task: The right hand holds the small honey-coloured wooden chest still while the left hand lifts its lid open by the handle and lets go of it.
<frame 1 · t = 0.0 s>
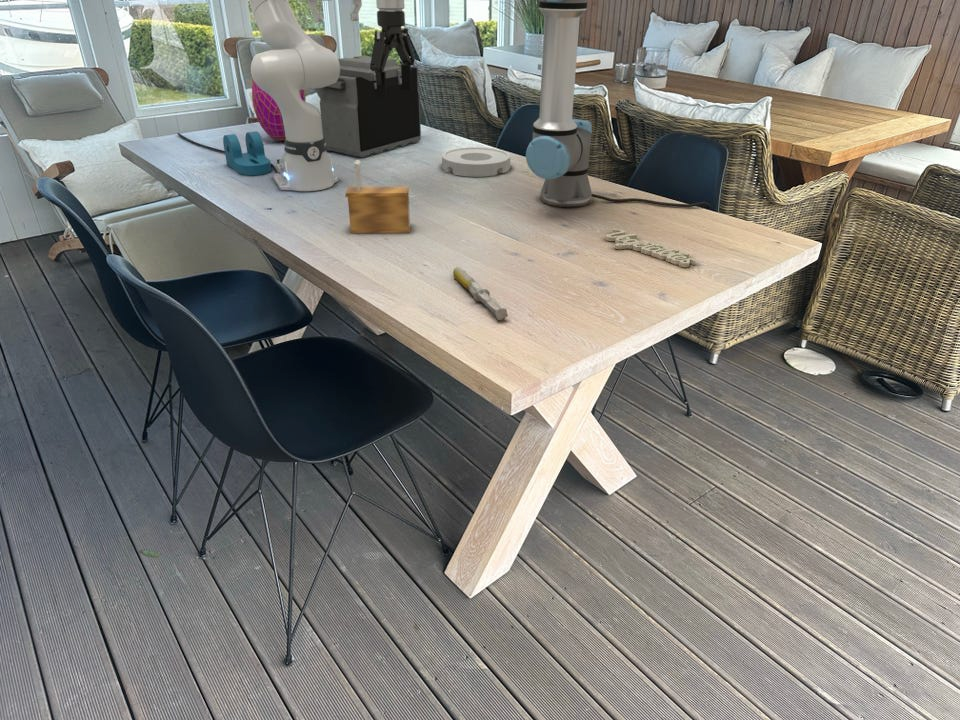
left hand: (336, 21, 168), 48 cm above the table, tool pointing down, fingers open, 8 cm apart
right hand: (394, 93, 197), 28 cm above the table, tool pointing down, fingers open, 13 cm apart
ashtray: (475, 167, 233), on the table
decorative egg: (284, 140, 265), on the table
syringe: (478, 297, 145), on the table
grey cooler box: (371, 146, 258), on the table
decorative sign: (645, 250, 169), on the table
lid: (376, 177, 173), point 14 cm above the table, hinge at 0.0°
camera mount: (251, 168, 229), on the table
chest: (380, 229, 180), on the table
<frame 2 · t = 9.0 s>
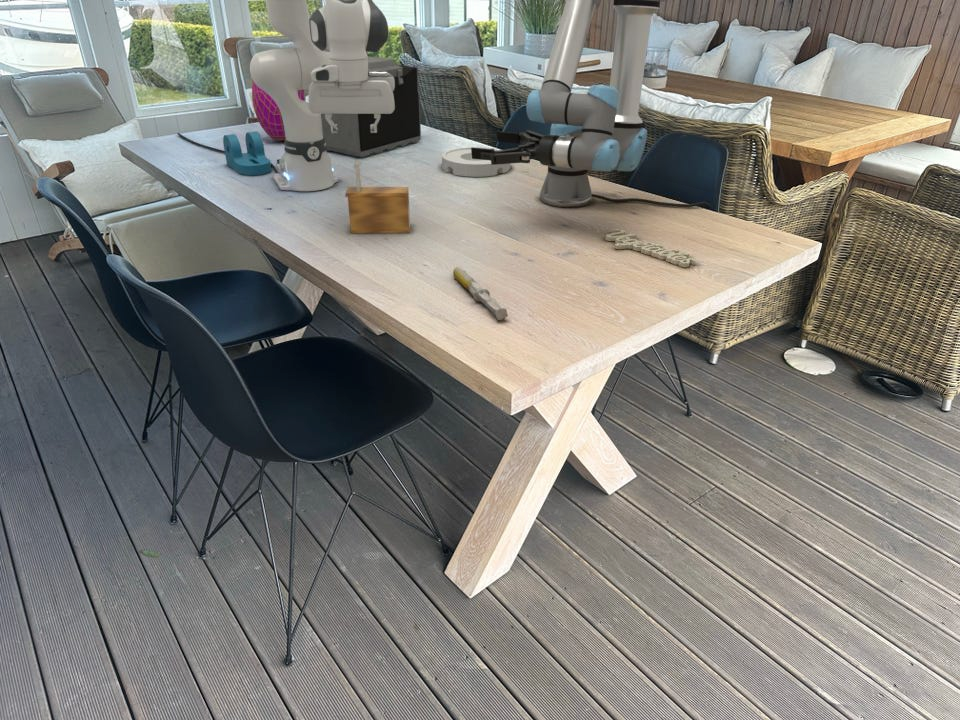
left hand: (354, 132, 167), 25 cm above the table, tool pointing down, fingers open, 8 cm apart
right hand: (485, 144, 183), 19 cm above the table, tool horizontal, fingers open, 13 cm apart
nothing on the table moved.
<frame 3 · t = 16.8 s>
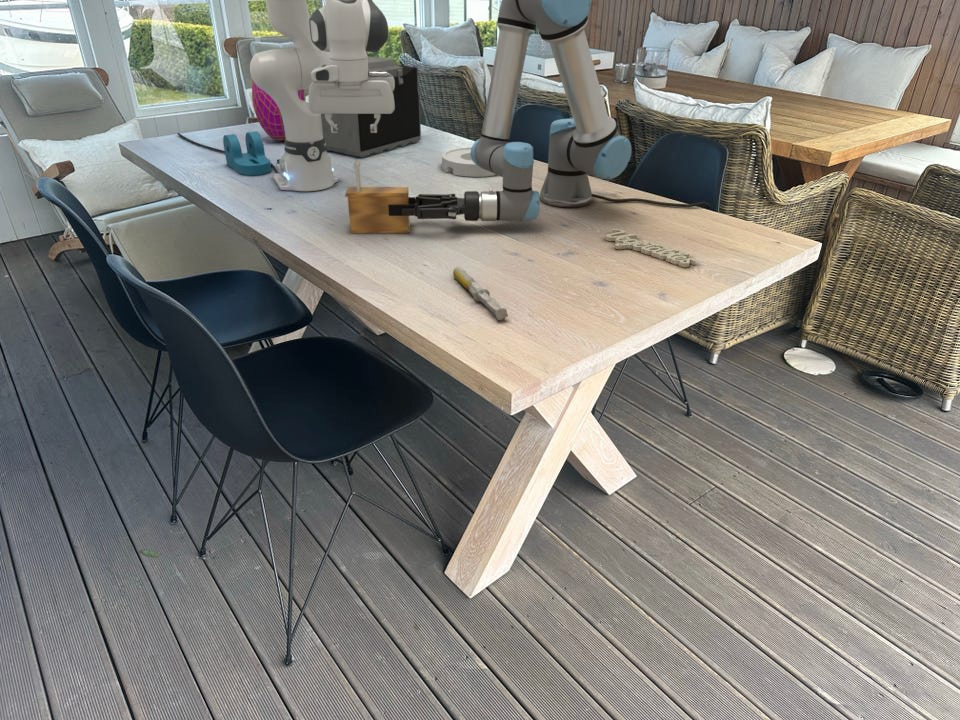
left hand: (354, 132, 167), 25 cm above the table, tool pointing down, fingers open, 8 cm apart
right hand: (389, 206, 177), 6 cm above the table, tool horizontal, fingers closed on chest, 5 cm apart
chest: (380, 229, 180), on the table, touching right hand
everything else where it was.
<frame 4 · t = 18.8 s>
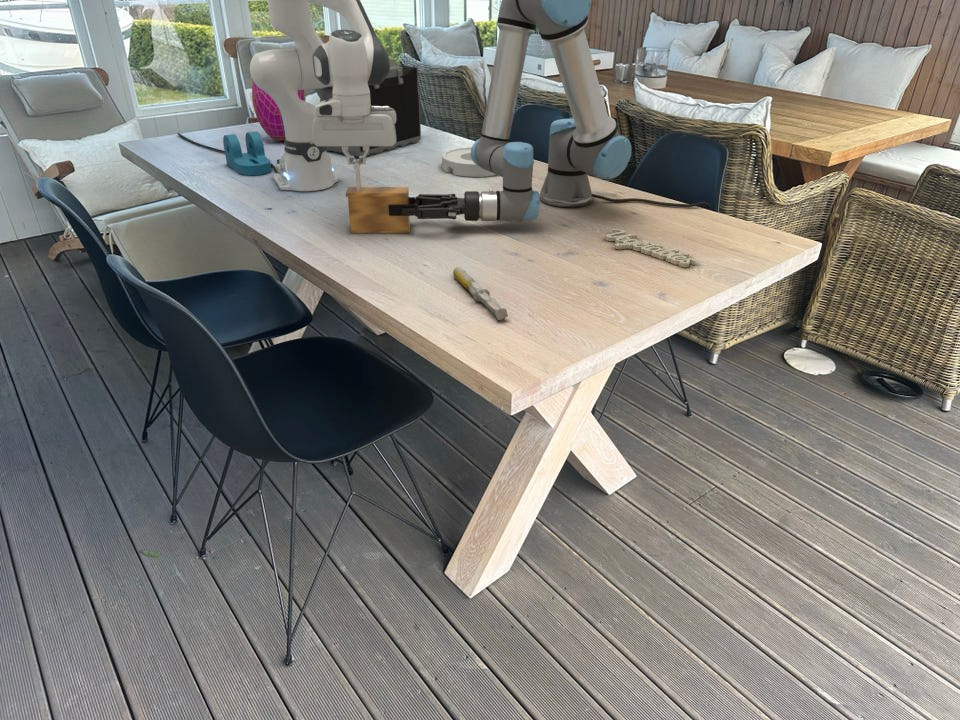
left hand: (356, 163, 171), 17 cm above the table, tool pointing down, fingers closed on lid
right hand: (389, 206, 177), 6 cm above the table, tool horizontal, fingers closed on chest, 5 cm apart
lid: (376, 177, 173), point 14 cm above the table, hinge at -0.1°, touching left hand
chest: (380, 229, 180), on the table, touching right hand
everything else where it was.
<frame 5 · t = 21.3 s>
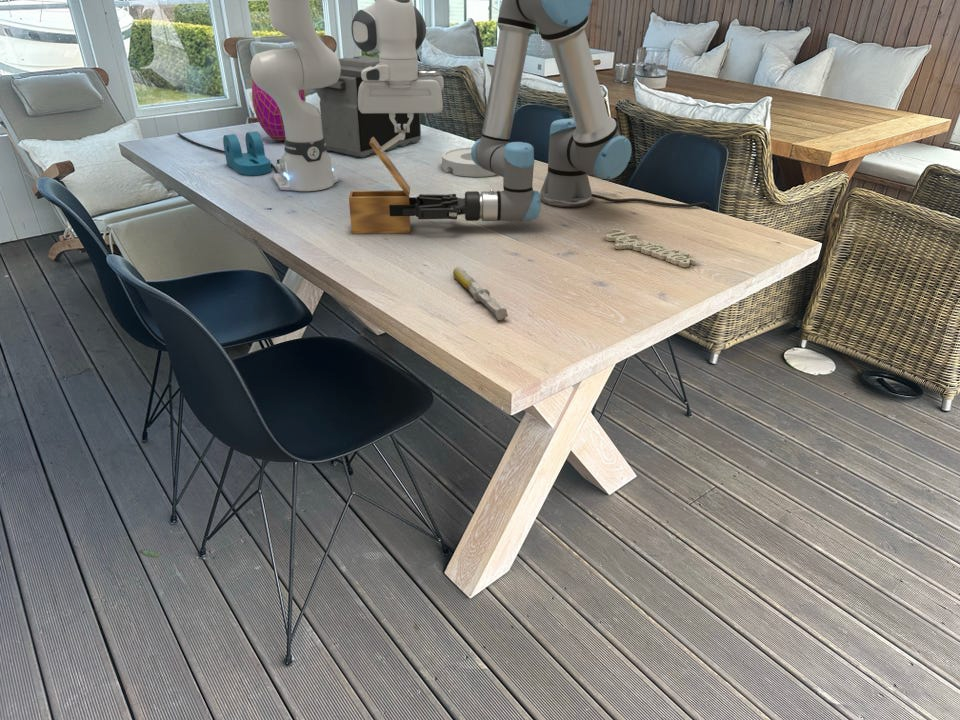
left hand: (402, 132, 167), 25 cm above the table, tool pointing down, fingers closed, pressing on lid
right hand: (390, 206, 177), 6 cm above the table, tool horizontal, fingers closed on chest, 5 cm apart
lid: (402, 158, 171), point 19 cm above the table, hinge at 56.5°, touching left hand
chest: (381, 229, 180), on the table, touching right hand
everything else where it was.
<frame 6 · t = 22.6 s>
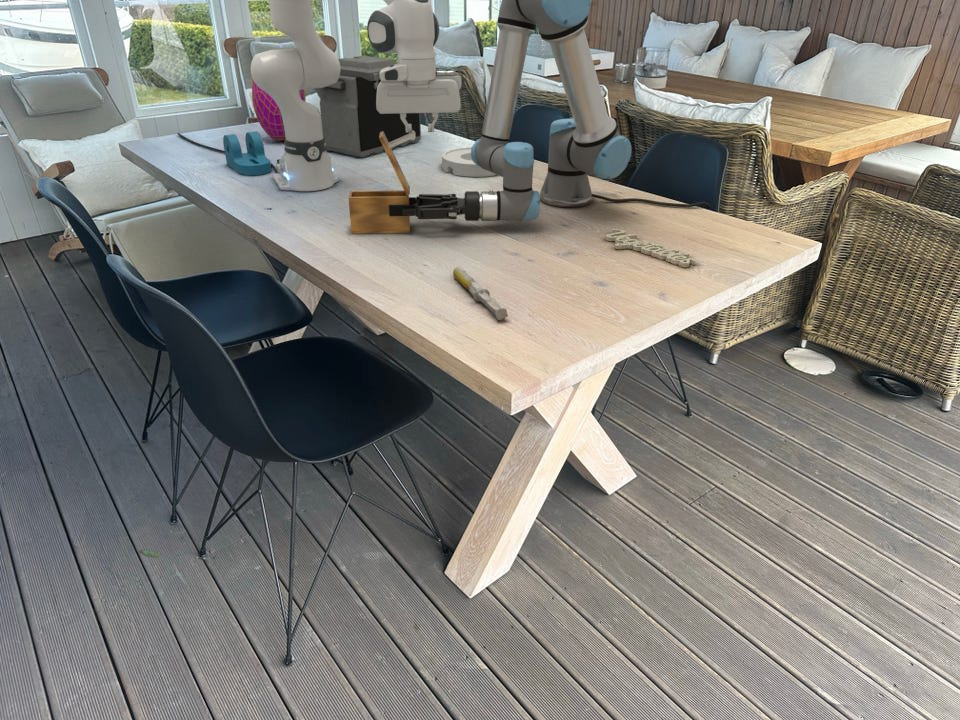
left hand: (420, 131, 168), 25 cm above the table, tool pointing down, fingers open, 4 cm apart
right hand: (390, 206, 177), 6 cm above the table, tool horizontal, fingers closed on chest, 6 cm apart
lid: (408, 157, 171), point 19 cm above the table, hinge at 67.1°, touching left hand
chest: (381, 229, 180), on the table, touching right hand
everything else where it was.
when the right hand's fingers open (6 cm above the table, at t = 26.1 s): chest stays where it is, on the table.
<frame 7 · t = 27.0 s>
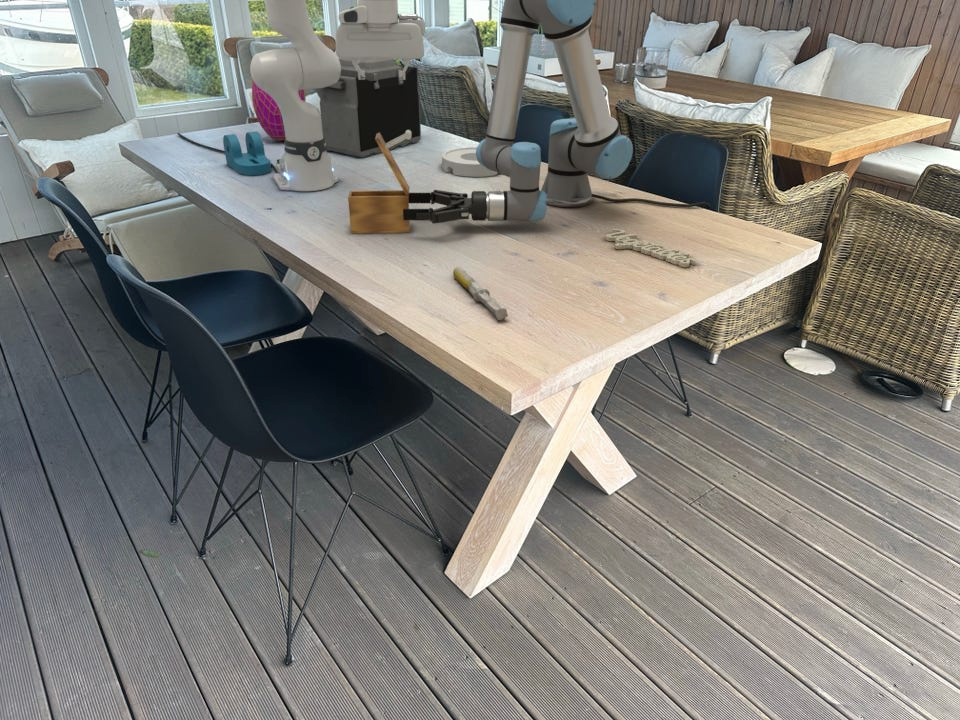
left hand: (382, 79, 161), 37 cm above the table, tool pointing down, fingers open, 8 cm apart
right hand: (404, 205, 177), 6 cm above the table, tool horizontal, fingers open, 13 cm apart
lid: (405, 157, 171), point 19 cm above the table, hinge at 63.7°
chest: (380, 229, 180), on the table
everything else where it was.
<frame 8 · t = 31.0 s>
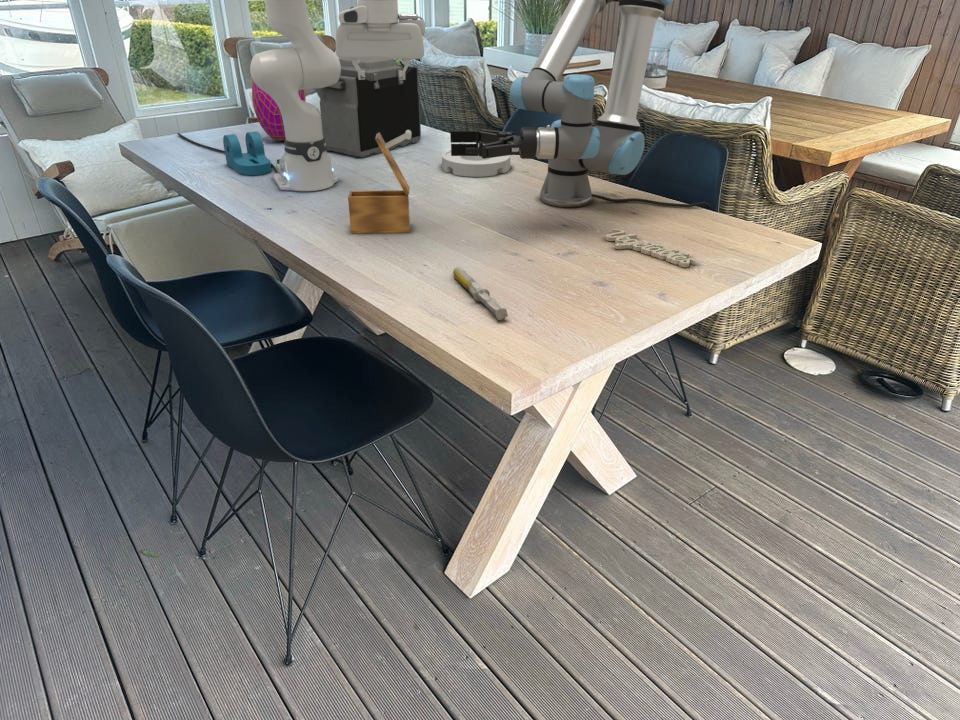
left hand: (382, 79, 161), 37 cm above the table, tool pointing down, fingers open, 8 cm apart
right hand: (450, 143, 170), 22 cm above the table, tool horizontal, fingers open, 13 cm apart
nothing on the table moved.
at the end: lid at +64° (first picture: +0°); the left hand is holding nothing; the right hand is holding nothing; chest tilted 0°; chest never tilted more than 1° during the clip; chest moved 0.0 cm from its start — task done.
